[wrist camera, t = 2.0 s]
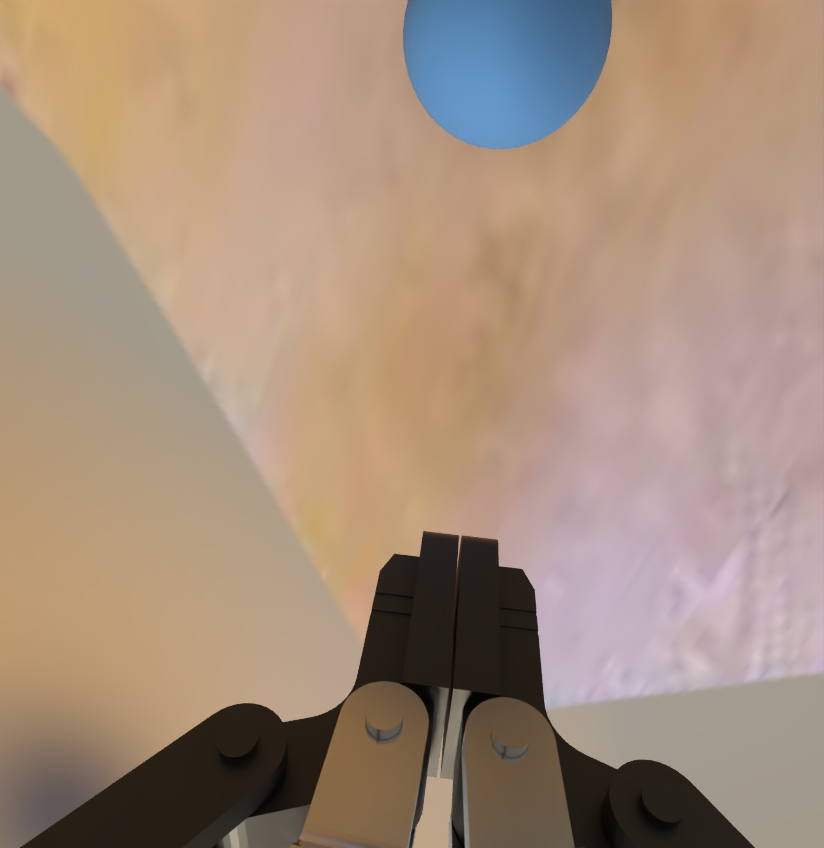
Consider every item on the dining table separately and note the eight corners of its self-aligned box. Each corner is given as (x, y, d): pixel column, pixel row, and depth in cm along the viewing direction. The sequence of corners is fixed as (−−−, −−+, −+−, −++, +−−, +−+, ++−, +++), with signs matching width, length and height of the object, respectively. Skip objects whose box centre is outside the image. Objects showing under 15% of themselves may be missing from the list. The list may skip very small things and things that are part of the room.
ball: (420, -77, 20) (396, -127, 14) (613, -67, 19) (658, -113, 14) (409, 132, 23) (385, 152, 18) (576, 144, 22) (602, 169, 17)
